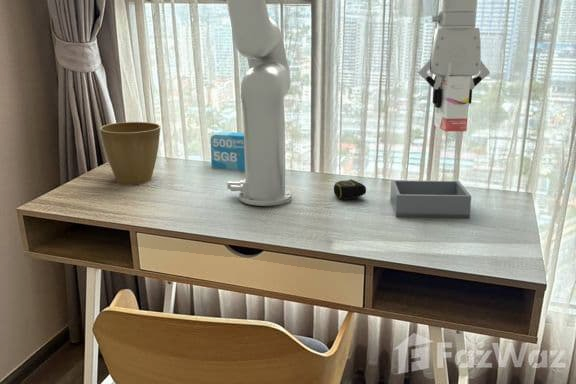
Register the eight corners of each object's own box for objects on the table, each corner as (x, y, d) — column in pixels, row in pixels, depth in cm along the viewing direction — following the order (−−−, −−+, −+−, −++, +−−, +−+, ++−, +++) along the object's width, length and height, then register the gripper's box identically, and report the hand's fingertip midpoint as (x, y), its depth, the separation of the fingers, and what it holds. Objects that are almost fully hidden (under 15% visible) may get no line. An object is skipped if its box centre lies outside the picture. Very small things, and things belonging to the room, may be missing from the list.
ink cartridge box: (468, 131, 130) (473, 61, 126) (445, 132, 130) (449, 62, 126) (454, 125, 138) (459, 59, 134) (433, 125, 138) (437, 59, 134)
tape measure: (367, 198, 145) (367, 183, 144) (342, 203, 143) (341, 188, 142) (354, 191, 152) (353, 177, 150) (329, 196, 149) (328, 182, 148)
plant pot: (93, 192, 154) (87, 130, 150) (125, 177, 168) (120, 120, 163) (145, 197, 150) (141, 133, 145) (173, 181, 164) (170, 123, 159)
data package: (211, 176, 169) (209, 134, 165) (217, 172, 173) (216, 131, 170) (252, 179, 165) (251, 136, 162) (257, 175, 170) (256, 133, 166)
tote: (395, 216, 134) (396, 195, 133) (390, 200, 146) (391, 180, 145) (469, 218, 133) (471, 196, 132) (457, 201, 145) (459, 181, 144)
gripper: (418, 21, 125) (414, 109, 130) (503, 20, 124) (495, 109, 129) (413, 21, 132) (409, 104, 137) (494, 20, 131) (487, 104, 136)
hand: (451, 106), depth 133 cm, fingers closed on ink cartridge box, 5 cm apart
